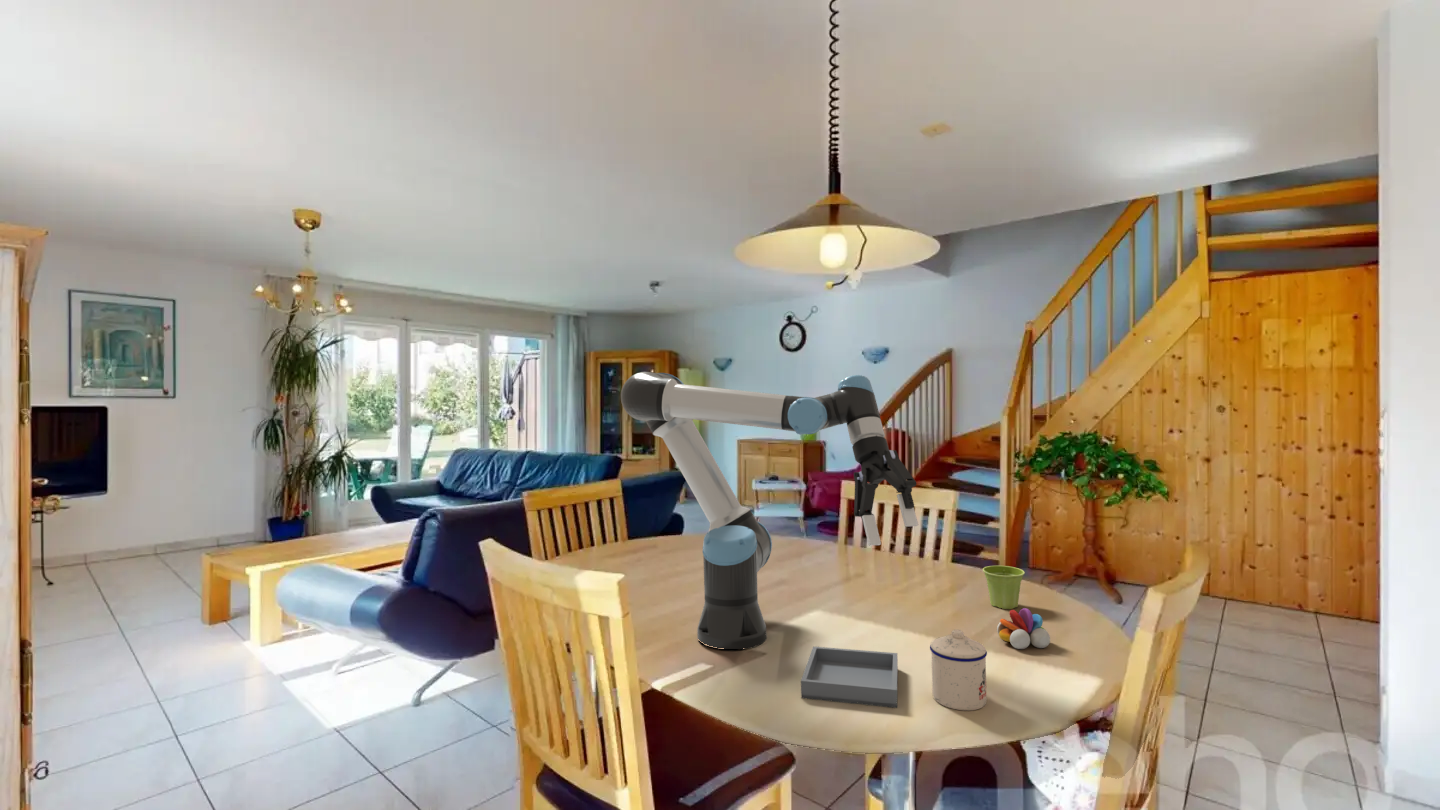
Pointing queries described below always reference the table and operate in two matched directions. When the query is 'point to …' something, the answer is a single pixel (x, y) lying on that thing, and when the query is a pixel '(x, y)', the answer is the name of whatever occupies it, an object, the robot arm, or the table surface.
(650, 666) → the table surface
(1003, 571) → the plant pot
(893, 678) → the tray
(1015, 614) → the rainbow segmented toy
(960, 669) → the teacup with lid
